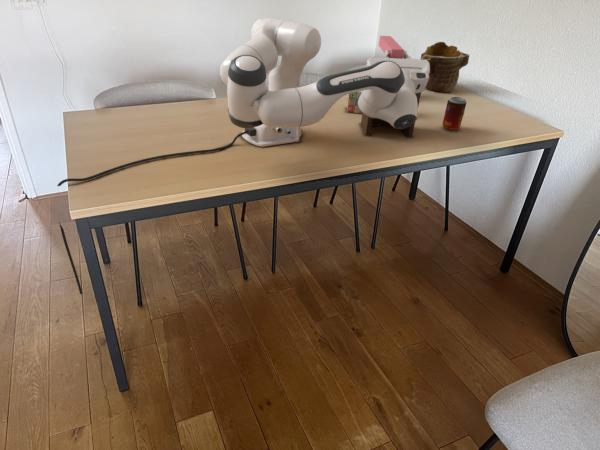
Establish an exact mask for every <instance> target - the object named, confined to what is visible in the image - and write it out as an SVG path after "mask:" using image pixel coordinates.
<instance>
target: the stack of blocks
mask: <svg viewBox="0 0 600 450" xmlns="http://www.w3.org/2000/svg"><path fill="white" fill-rule="evenodd" d="M361 92H362V91H359V92H354V93H350V94H347V95H348V97H347V105H346V106H347V107H346V112H347V113H355V114H362V112H361V111H360V109H359V107H358V99H359V97H360V95H361Z"/></svg>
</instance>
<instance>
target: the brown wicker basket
mask: <svg viewBox="0 0 600 450" xmlns="http://www.w3.org/2000/svg"><path fill="white" fill-rule="evenodd" d="M469 59H470V53H464V52H463V51H461V50H460V49H459V50H458V47H457V46H455V45H448V44H446V42H445V41H437V42H435V43H434V44H431V45H429V46H427V47H426V49H425V51H424V52H422V53H421V55H420V59H419V60H427V61H428V62H429V64H430V73H429V80H428V83H427V85H426V87H425V89H426V90H428V91H434V92H440V93H449V92H451V91H453V90H454V89H455V88H456V86H457V85H458V81H459V78H460V70H461V69H462V68H464V67H466V66H467V65H468V64H469Z"/></svg>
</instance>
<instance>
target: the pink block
mask: <svg viewBox="0 0 600 450" xmlns="http://www.w3.org/2000/svg"><path fill="white" fill-rule="evenodd" d="M378 47H379V48H380V50H381V51H382V52H383V53H384V54H385V52H386V50H390V52H391V54H390V57H389V58H397V59H404V58H403V53H404V51H405V49H404V48H403V47H402V46H401V45H400V44H399V43H398V42H397V41H396V40H395V39H394V38H393V37H392V36H391V35H379V40H378Z"/></svg>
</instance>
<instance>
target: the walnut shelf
mask: <svg viewBox="0 0 600 450" xmlns="http://www.w3.org/2000/svg"><path fill="white" fill-rule="evenodd" d="M376 58H380V57H379V56H377V57H376ZM415 95H416V97H417V103H418V107H419V106H420V100H421V96H422V92H420V93H415ZM360 125H361V128H362V130H363V133H364V135H365V136H366V137H369V136H371V130H372V126H382V127H383V126H384V127H393V126H392V125H391V124H390V123H388V122H387V121H384V120H382V119H375V118H369V117H367V116H365V115H364V114H363V113H361V122H360ZM415 125H416V121H415V122H414V123H413V124H412V125H411V126H409V127H407V128H404V129H402V130H403V132H405V135H406V136H407V137H408V138H413V134H414V130H415Z"/></svg>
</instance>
